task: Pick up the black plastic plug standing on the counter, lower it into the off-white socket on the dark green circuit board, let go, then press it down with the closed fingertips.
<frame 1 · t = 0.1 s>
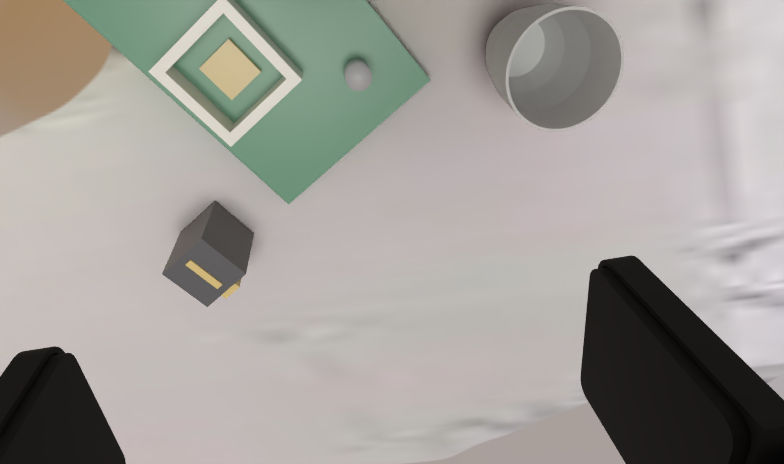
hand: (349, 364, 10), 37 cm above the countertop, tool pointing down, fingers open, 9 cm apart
board: (260, 38, 42), on the countertop
plug: (217, 232, 49), on the countertop
cup: (515, 45, 45), on the countertop
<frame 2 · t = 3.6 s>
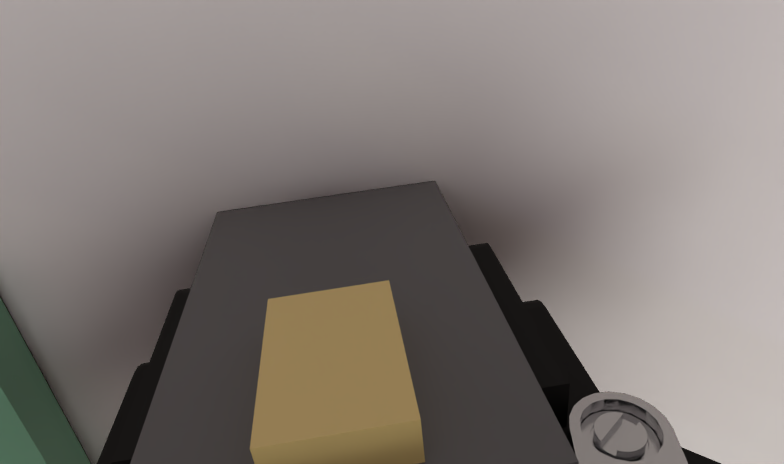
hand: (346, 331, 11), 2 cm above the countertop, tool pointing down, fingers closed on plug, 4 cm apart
plug: (342, 286, 12), on the countertop, touching gripper
when the fingers open (5 cm above the countertop, at t = 8.0 s): plug drops 1 cm, resting on board.
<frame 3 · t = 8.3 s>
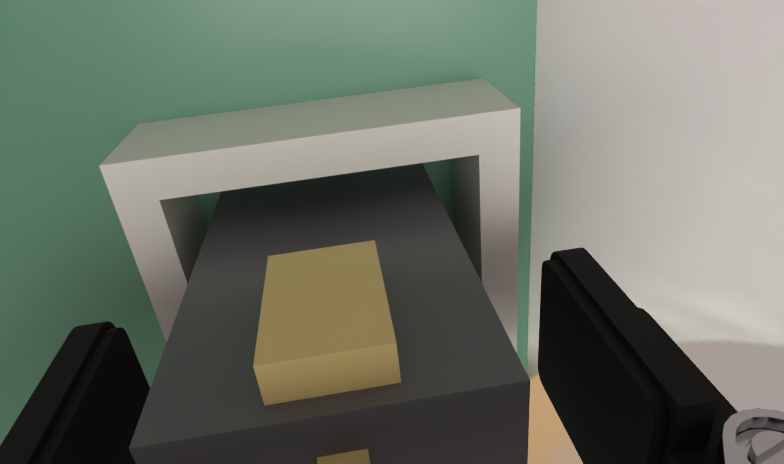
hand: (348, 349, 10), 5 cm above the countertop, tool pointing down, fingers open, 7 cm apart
board: (226, 243, 15), on the countertop
plug: (337, 261, 13), point 2 cm above the countertop, touching board
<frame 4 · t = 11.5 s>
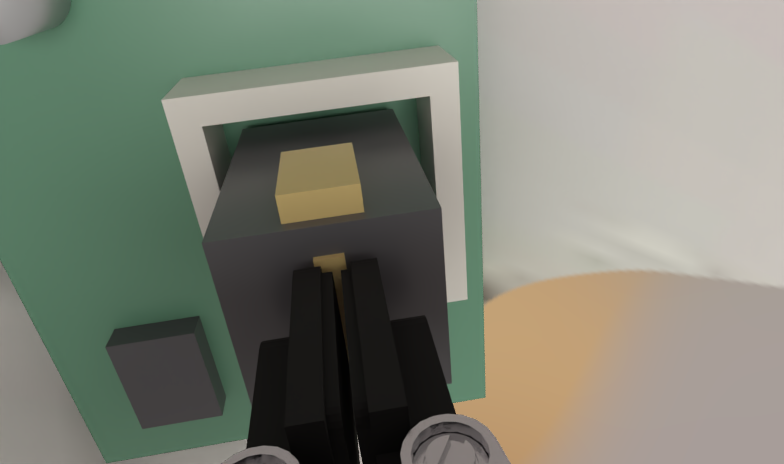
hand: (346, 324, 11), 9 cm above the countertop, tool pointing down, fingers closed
board: (243, 178, 19), on the countertop
plug: (329, 187, 17), point 2 cm above the countertop, touching board, gripper
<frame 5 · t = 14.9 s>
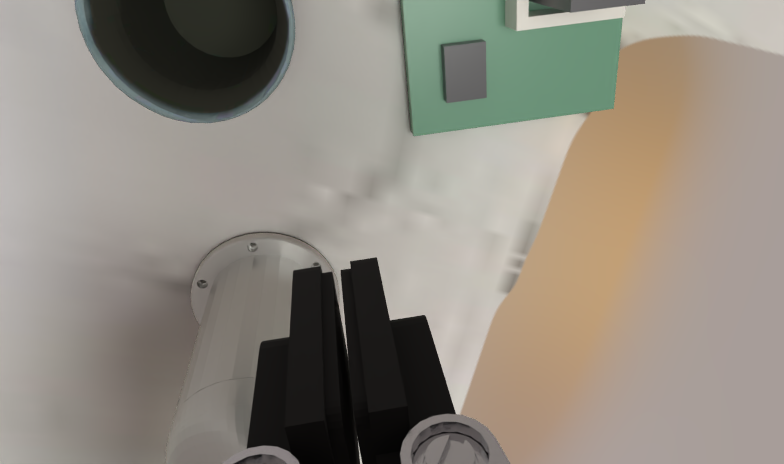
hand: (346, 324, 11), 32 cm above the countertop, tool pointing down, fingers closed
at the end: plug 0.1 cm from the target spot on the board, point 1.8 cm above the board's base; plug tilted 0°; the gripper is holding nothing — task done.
